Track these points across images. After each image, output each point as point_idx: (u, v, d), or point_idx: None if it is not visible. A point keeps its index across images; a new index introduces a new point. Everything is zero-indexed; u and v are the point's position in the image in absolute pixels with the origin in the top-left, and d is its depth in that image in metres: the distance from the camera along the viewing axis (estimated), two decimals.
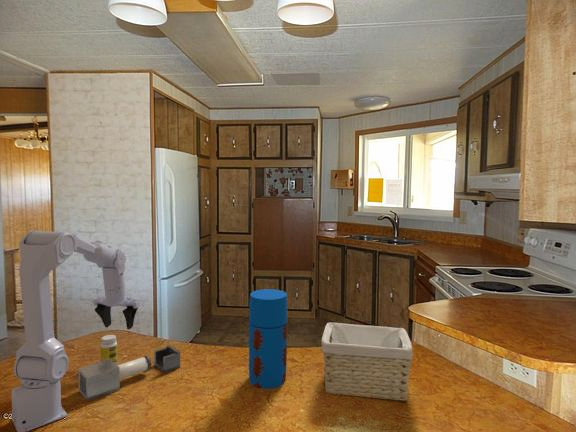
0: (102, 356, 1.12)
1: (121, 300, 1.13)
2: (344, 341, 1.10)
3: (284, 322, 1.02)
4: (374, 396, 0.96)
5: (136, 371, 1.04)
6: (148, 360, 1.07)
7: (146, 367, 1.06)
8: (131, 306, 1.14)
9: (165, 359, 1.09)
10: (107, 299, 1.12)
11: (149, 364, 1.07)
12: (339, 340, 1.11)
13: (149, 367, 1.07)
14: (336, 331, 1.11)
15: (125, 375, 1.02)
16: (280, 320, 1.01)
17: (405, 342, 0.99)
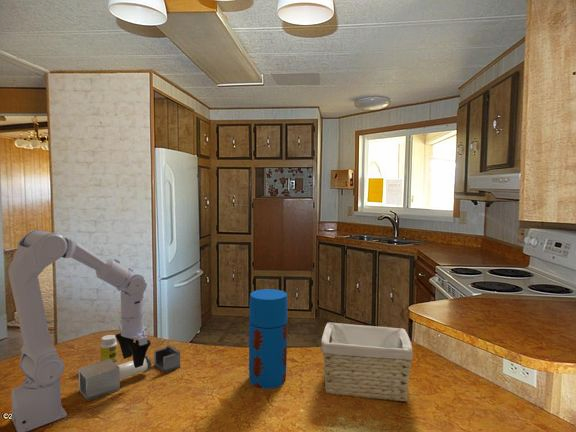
0: (102, 356, 1.12)
1: (132, 332, 1.02)
2: (344, 341, 1.10)
3: (284, 322, 1.02)
4: (374, 396, 0.96)
5: (136, 371, 1.04)
6: (148, 360, 1.07)
7: (146, 367, 1.06)
8: (138, 341, 1.00)
9: (165, 359, 1.09)
10: (121, 327, 1.03)
11: (149, 364, 1.07)
12: (339, 340, 1.10)
13: (149, 367, 1.07)
14: (336, 331, 1.11)
15: (125, 375, 1.02)
16: (280, 320, 1.01)
17: (405, 342, 0.99)
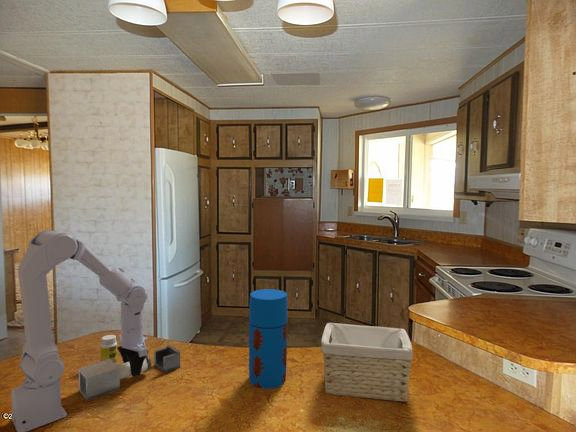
0: (102, 356, 1.12)
1: (132, 343, 1.02)
2: (344, 341, 1.10)
3: (284, 322, 1.02)
4: (374, 397, 0.96)
5: None
6: (148, 360, 1.07)
7: (146, 367, 1.06)
8: (138, 353, 1.00)
9: (165, 359, 1.09)
10: (121, 338, 1.03)
11: (149, 364, 1.07)
12: (339, 340, 1.10)
13: (149, 367, 1.07)
14: (336, 331, 1.11)
15: (125, 375, 1.02)
16: (280, 320, 1.01)
17: (405, 343, 0.99)
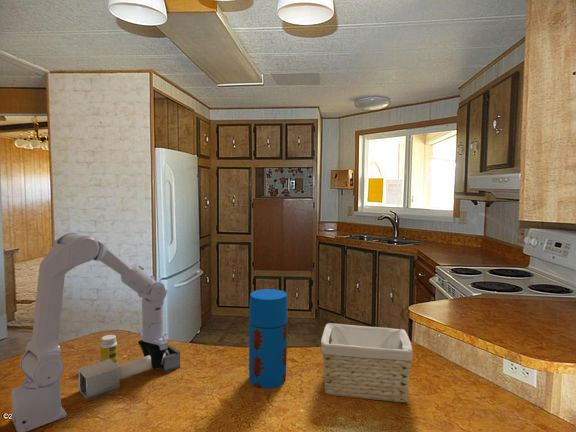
0: (102, 356, 1.12)
1: (153, 337, 1.06)
2: (344, 342, 1.09)
3: (284, 322, 1.02)
4: (374, 398, 0.96)
5: None
6: (167, 354, 1.11)
7: None
8: (159, 346, 1.05)
9: (165, 359, 1.09)
10: (142, 332, 1.08)
11: None
12: (339, 341, 1.10)
13: None
14: (336, 332, 1.10)
15: (146, 368, 1.06)
16: (280, 320, 1.01)
17: (405, 343, 0.99)
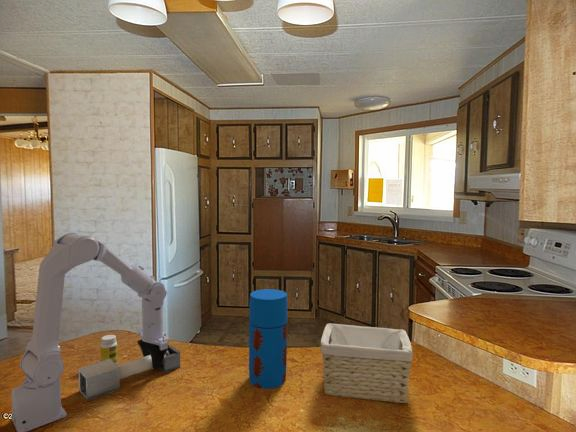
0: (102, 356, 1.12)
1: (153, 337, 1.06)
2: (344, 342, 1.09)
3: (284, 322, 1.02)
4: (373, 398, 0.95)
5: None
6: (167, 354, 1.11)
7: None
8: (159, 346, 1.05)
9: (165, 359, 1.09)
10: (142, 332, 1.08)
11: None
12: (339, 341, 1.10)
13: None
14: (336, 332, 1.10)
15: (146, 368, 1.06)
16: (280, 320, 1.01)
17: (405, 344, 0.98)
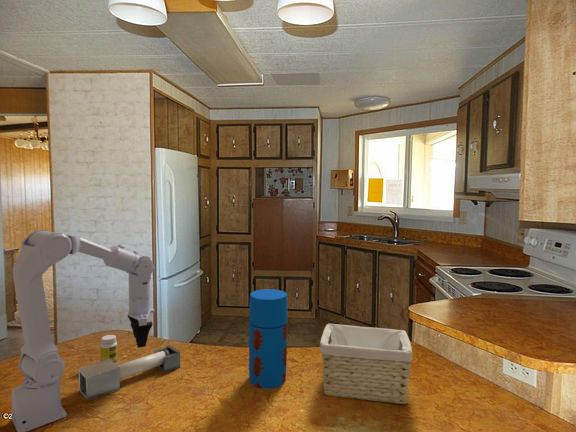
0: (102, 356, 1.12)
1: (136, 312, 1.04)
2: (344, 342, 1.09)
3: (284, 322, 1.02)
4: (373, 399, 0.95)
5: (156, 364, 1.08)
6: (167, 354, 1.11)
7: None
8: None
9: (165, 359, 1.09)
10: None
11: None
12: (339, 342, 1.09)
13: None
14: (336, 332, 1.10)
15: (146, 368, 1.06)
16: (280, 320, 1.01)
17: (405, 344, 0.98)
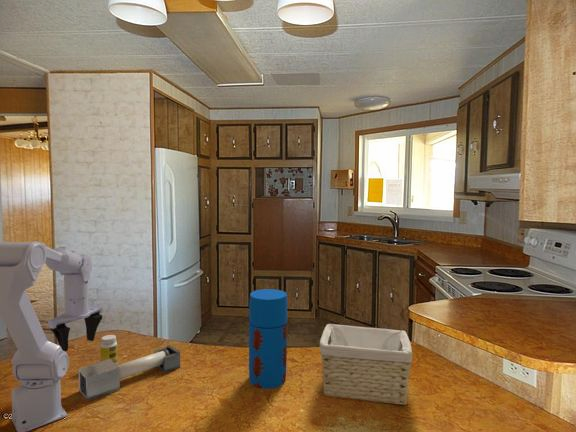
0: (102, 356, 1.12)
1: (65, 313, 1.00)
2: (344, 342, 1.09)
3: (284, 322, 1.02)
4: (373, 399, 0.95)
5: (156, 364, 1.08)
6: (167, 354, 1.11)
7: None
8: None
9: (165, 359, 1.09)
10: None
11: None
12: (339, 342, 1.09)
13: None
14: (336, 333, 1.10)
15: (146, 368, 1.06)
16: (280, 320, 1.01)
17: (405, 345, 0.98)
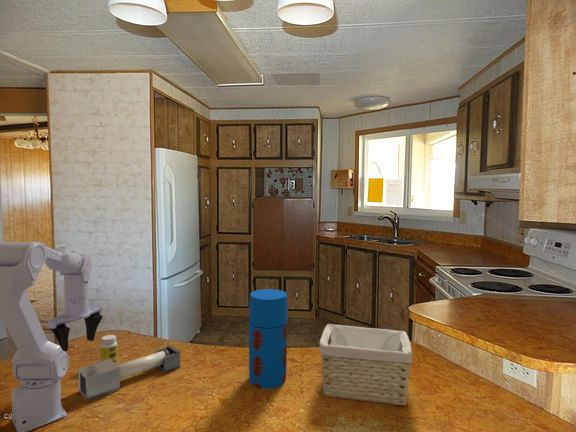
0: (102, 356, 1.12)
1: (65, 313, 1.00)
2: (344, 343, 1.09)
3: (284, 322, 1.02)
4: (372, 400, 0.95)
5: (156, 364, 1.08)
6: (167, 354, 1.11)
7: None
8: None
9: (165, 359, 1.09)
10: None
11: None
12: (339, 342, 1.09)
13: None
14: (336, 333, 1.09)
15: (146, 368, 1.06)
16: (280, 320, 1.01)
17: (405, 345, 0.97)
